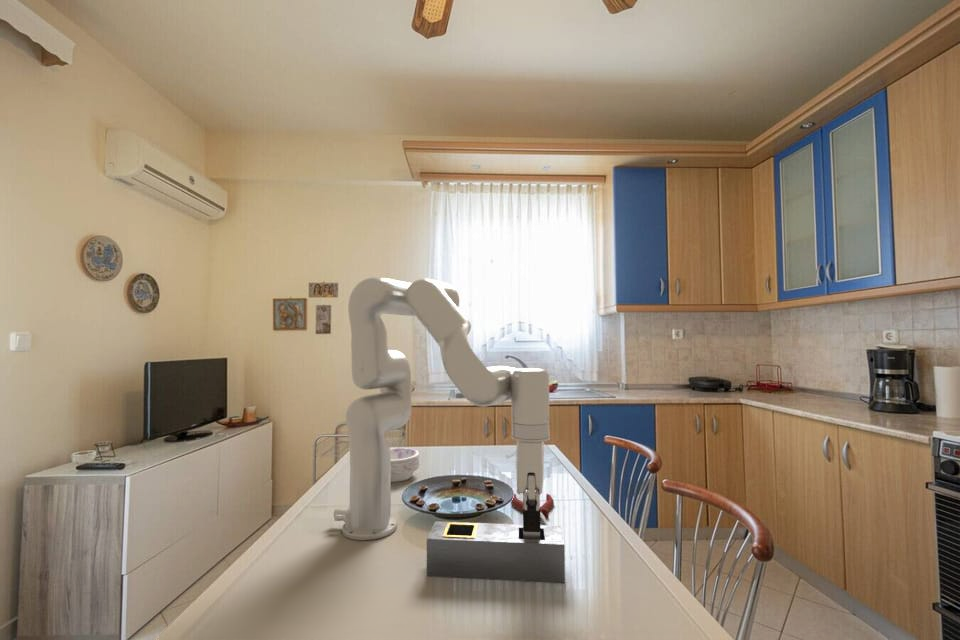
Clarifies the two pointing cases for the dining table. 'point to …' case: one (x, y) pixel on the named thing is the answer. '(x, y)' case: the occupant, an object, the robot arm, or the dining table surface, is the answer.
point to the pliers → (543, 509)
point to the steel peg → (531, 534)
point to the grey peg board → (495, 552)
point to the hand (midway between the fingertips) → (531, 522)
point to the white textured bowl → (403, 463)
